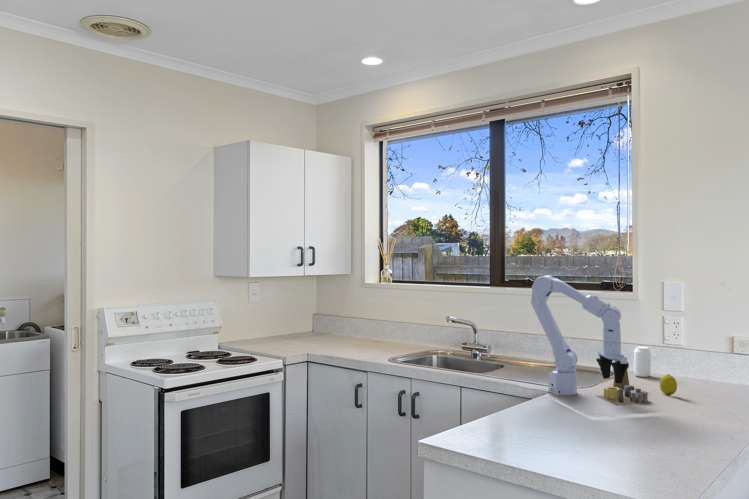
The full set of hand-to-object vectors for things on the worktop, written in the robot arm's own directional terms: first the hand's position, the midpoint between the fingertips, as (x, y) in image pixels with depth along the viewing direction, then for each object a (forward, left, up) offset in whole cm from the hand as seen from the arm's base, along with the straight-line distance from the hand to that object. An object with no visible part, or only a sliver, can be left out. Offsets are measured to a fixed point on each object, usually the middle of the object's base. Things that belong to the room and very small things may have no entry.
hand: (612, 380), depth 209 cm
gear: (0, 0, -6) cm, 6 cm away
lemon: (+22, 0, -7) cm, 23 cm away
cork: (+12, +13, -7) cm, 19 cm away
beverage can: (+34, +32, -7) cm, 47 cm away
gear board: (+2, -3, -7) cm, 8 cm away
